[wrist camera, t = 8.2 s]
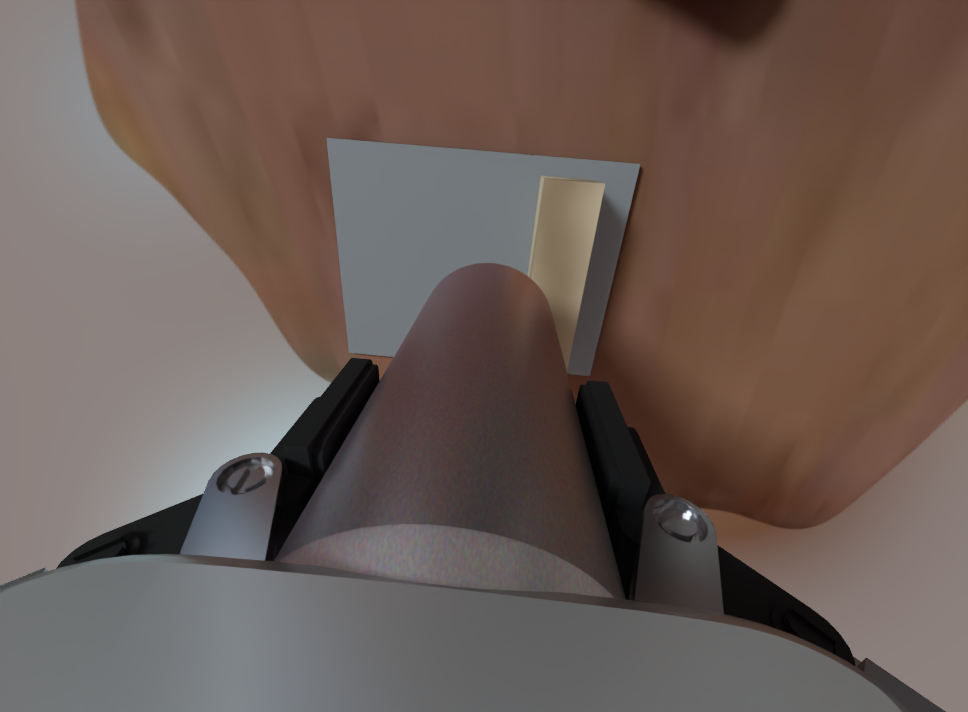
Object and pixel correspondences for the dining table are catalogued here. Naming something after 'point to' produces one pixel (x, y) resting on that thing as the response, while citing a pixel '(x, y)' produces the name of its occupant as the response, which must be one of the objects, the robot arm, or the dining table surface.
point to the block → (564, 247)
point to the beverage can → (467, 456)
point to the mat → (454, 230)
